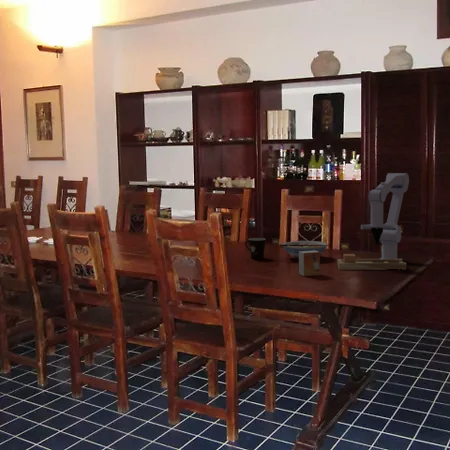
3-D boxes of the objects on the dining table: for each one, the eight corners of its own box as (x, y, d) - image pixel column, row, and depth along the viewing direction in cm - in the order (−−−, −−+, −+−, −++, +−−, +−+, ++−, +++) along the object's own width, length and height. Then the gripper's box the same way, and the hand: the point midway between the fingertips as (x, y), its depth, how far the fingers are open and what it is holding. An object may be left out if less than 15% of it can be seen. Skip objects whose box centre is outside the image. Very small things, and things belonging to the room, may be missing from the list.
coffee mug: (268, 258, 313) (268, 239, 312) (253, 260, 310) (252, 240, 309) (259, 255, 324) (258, 236, 323) (244, 256, 321) (243, 238, 320)
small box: (303, 276, 268) (303, 253, 267) (298, 274, 274) (298, 251, 272) (320, 275, 270) (320, 251, 269) (315, 272, 276) (315, 249, 274)
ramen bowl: (327, 254, 323) (327, 238, 322) (331, 262, 300) (331, 245, 299) (280, 254, 325) (280, 239, 324) (280, 262, 303) (279, 246, 302)
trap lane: (337, 265, 292) (337, 259, 291) (401, 265, 289) (401, 258, 288) (339, 269, 281) (339, 263, 281) (406, 269, 278) (406, 263, 277)
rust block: (343, 262, 288) (343, 253, 288) (354, 262, 288) (354, 253, 287) (344, 264, 283) (344, 255, 283) (355, 264, 283) (355, 255, 282)
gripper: (362, 216, 281) (361, 245, 283) (394, 216, 280) (393, 245, 281) (360, 215, 288) (360, 243, 290) (391, 214, 287) (391, 243, 288)
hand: (376, 244), depth 286 cm, fingers closed
